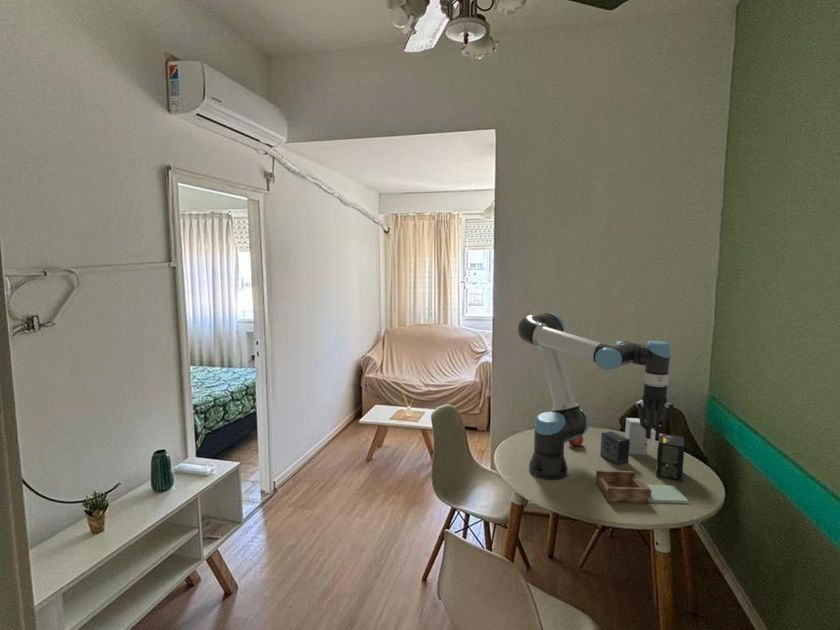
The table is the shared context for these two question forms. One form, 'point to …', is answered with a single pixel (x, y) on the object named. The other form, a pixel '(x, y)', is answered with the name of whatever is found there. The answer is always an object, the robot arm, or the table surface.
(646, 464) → the table surface
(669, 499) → the cover plate
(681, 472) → the tampon box
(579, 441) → the pomegranate
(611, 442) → the small box
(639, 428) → the skincare box
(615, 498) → the box
